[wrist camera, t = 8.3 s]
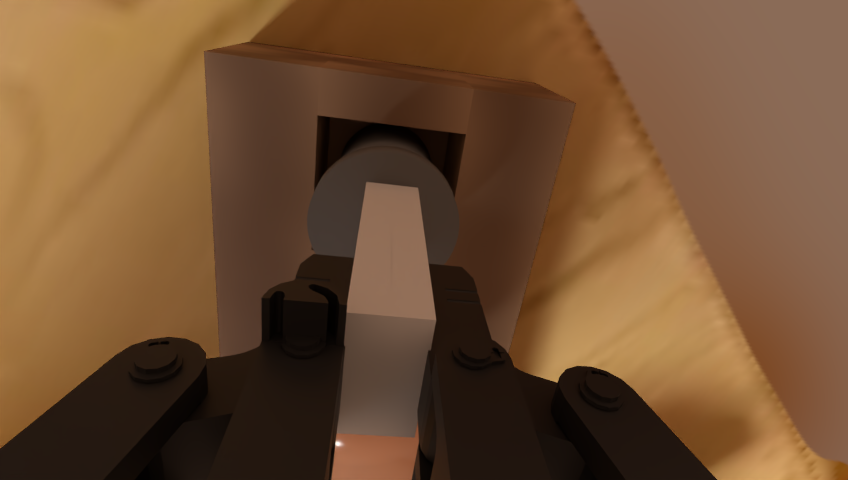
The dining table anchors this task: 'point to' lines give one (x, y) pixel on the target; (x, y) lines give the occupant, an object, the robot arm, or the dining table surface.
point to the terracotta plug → (374, 457)
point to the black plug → (387, 164)
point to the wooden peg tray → (323, 145)
